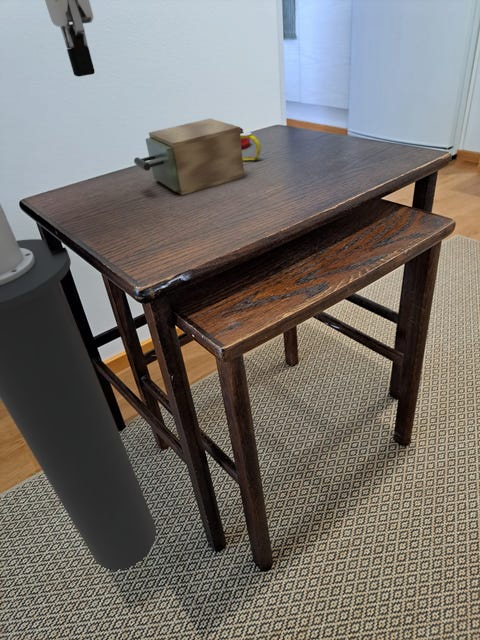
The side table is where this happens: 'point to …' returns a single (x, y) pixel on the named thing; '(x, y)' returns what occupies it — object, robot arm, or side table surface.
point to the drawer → (160, 163)
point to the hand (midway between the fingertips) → (84, 74)
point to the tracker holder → (244, 140)
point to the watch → (249, 135)
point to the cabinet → (204, 153)
